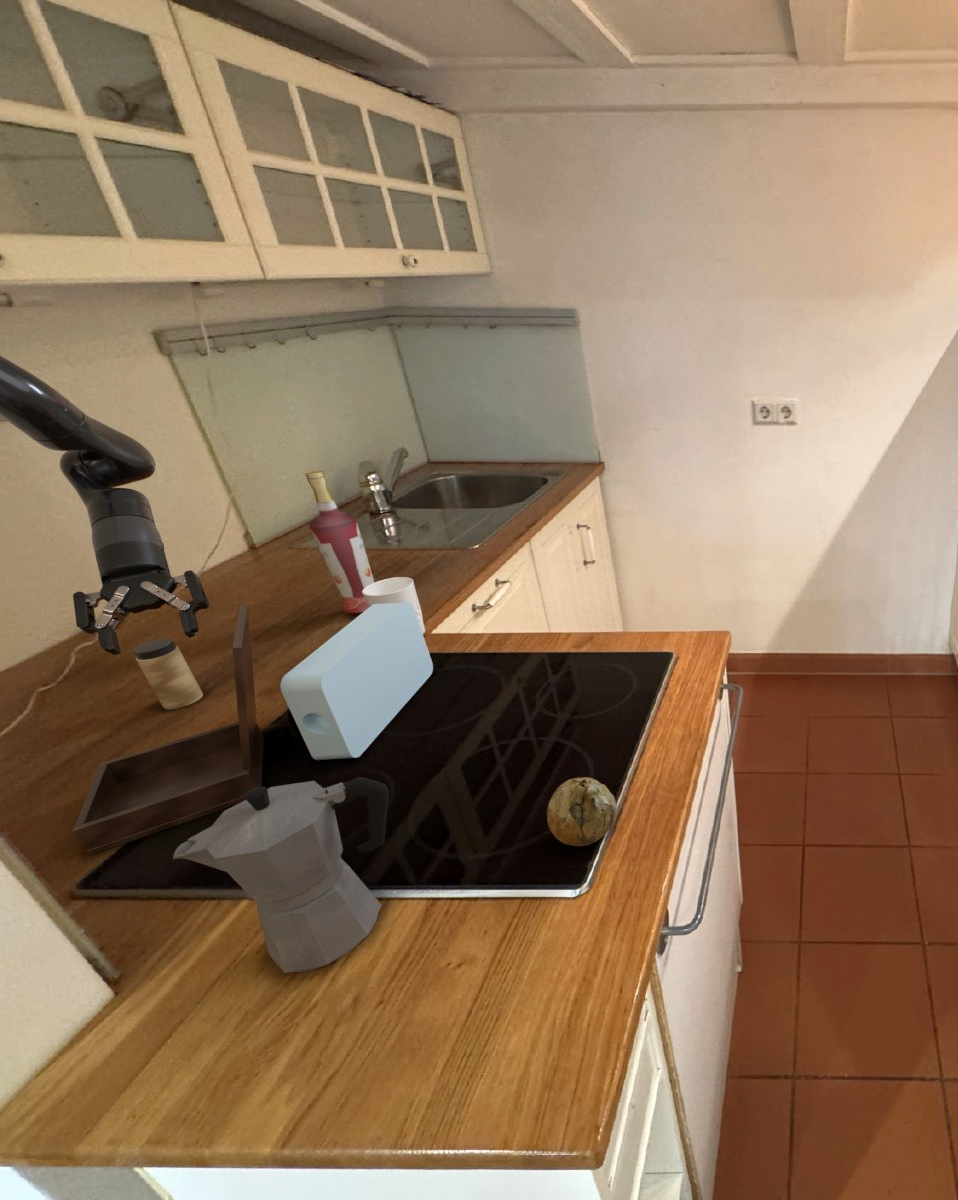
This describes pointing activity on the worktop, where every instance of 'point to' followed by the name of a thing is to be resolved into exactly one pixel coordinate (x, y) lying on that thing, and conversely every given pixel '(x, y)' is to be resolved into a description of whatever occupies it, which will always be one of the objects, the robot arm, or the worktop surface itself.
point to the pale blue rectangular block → (358, 681)
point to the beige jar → (168, 673)
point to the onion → (581, 811)
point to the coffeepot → (297, 867)
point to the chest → (167, 787)
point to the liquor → (340, 546)
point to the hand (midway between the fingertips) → (153, 643)
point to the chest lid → (244, 686)
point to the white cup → (394, 594)
